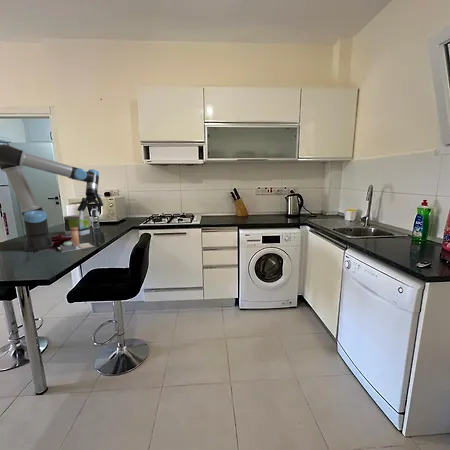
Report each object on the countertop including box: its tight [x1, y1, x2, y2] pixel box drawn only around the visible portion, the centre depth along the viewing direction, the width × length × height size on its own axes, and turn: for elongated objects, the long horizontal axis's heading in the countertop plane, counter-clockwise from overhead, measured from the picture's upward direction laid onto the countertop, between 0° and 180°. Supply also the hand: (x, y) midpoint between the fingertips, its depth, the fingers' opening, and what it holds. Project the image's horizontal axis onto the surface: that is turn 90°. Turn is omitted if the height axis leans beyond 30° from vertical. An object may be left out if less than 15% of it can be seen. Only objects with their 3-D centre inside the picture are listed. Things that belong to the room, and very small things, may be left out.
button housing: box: [59, 243, 77, 253], centre depth 162 cm, size 7×7×3 cm
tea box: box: [63, 214, 91, 236], centre depth 211 cm, size 15×10×15 cm, turn 74°
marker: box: [70, 227, 80, 246], centre depth 171 cm, size 4×4×12 cm
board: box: [57, 242, 96, 253], centre depth 168 cm, size 18×14×1 cm
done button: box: [62, 241, 72, 247], centre depth 162 cm, size 4×4×3 cm
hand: (89, 217), depth 182 cm, fingers open, 13 cm apart
